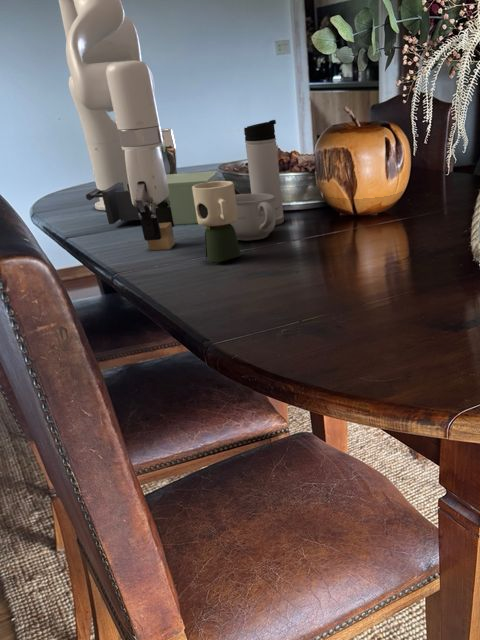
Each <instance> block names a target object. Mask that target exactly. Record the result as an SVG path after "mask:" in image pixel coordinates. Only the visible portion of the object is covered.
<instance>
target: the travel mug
mask: <svg viewBox="0 0 480 640" xmlns="http://www.w3.org/2000/svg"><path fill="white" fill-rule="evenodd" d="M275 125H277V120H276V119H271V120H269V121H266V122H261V123H257V124H256V123H255V124H252V125H251V124H250V125H248V126H246V127H243V132H244V134H243V135H244V136H245V137H244V143H245V150H246V160H247V166H248V167H247V168H248V176H249V184H250V194H252V193H258V194H272V195H274V196H275V226H278V225H282V224H283V223H284V221H285V217H284V209H283V208H284V207H283V198H282V197H283V195H282V187H281V177H280V166H279V157H278V147H277V146H278V145H277V138H276V134H275V133H276V130H275Z"/></svg>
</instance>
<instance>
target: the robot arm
mask: <svg viewBox="0 0 480 640" xmlns="http://www.w3.org/2000/svg"><path fill="white" fill-rule="evenodd" d="M58 3H59V9H60V14H61V19H62V25H63V29H64V34H65V39H66V43H65V56H66V57H65V58H66V63H67V66H68V71H69V74H70V76H69V78H68V89H69V93H70V95H71V99H72V102H73V103H74V106H75V109H76V111H77V114H78V118H79V121H80V124H81V127H82V128H81V129H82V132H83V136H84V139H85V144H86V148H87V153H88V156H89V161H90V165H91V169H92V173H93V177H94V181H95V185H96V189H99V190H106V189H108V188H110V187H112V186H113V185H115V184H117V183H122V182H123V186H124V190H125V191H128V187H127V184H129V189H130V195H131V200H132V204H133V205H134V206H135V207H138V209H137V210H138V212H139V218H140V220H139V221H140V225H141V230H142V234H143V240H144V241H146V242H147V241H148V240H160V239H161V232H160V227H159V223H169V222H171V224H172V228H174V226H175V225H174V222H173V217H172V212H171V207H168V206H170V201H169V199H168V195H169V190H168V183H167V177H166V172H165V168H164V163H163V159H162V154H161V151H160V147H159V146H162V145H163V140H162V134H161V129H162V128H161V124H160V119H159V114H158V108H157V103H156V97H155V93H156V87H155V86H156V85H155V79H154V75H153V73H152V71H151V69H150V68H149V65H148V64H147V63H146V62H145V61H143V60H142V54H141V53H142V51H141V45H140V38H139V34H138V31H137V28H136V26H135V24H134V22H133V20H132V19H130V18H129V17H128V16H127V15H125V9H124V6H123V3H122V1H121V0H58ZM111 112H113V113H114V118H115V119H114V118H113V117H112V116H111V115H110V114H109V113H111ZM101 194H102V193H101ZM149 207H151V211H150V209H149ZM156 207H158V208H156ZM94 208H95V209H96V210H97V211H106V210H105V205H104V201H103V197H99V200H98V201H97V202H95V204H94ZM155 215H156V217H155Z"/></svg>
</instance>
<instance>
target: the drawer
mask: <svg viewBox="0 0 480 640" xmlns="http://www.w3.org/2000/svg"><path fill="white" fill-rule="evenodd" d="M127 187H128V191H125V190H124V186H123V182H122V183H117V184H115V185H113V186H112V187H110V188H108V189H106V190H99V189H97V188H95V189H93V190H91V191H90V192H88V193H86V195H85V198H86V200H88V201H91V200H93V199H96V198H99V197H103V201H104V205H105V210H104V211H105V214H106V218H107V223H108V225H114V224H116V223H117V222H119V221H120V222H127V221H140V218H139V212H138V210H137V209H138V207H135V206H134V205H133V204H132V200H131V195H130V189H129V184H127ZM101 193H102V194H101Z"/></svg>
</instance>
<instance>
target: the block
mask: <svg viewBox="0 0 480 640" xmlns="http://www.w3.org/2000/svg"><path fill="white" fill-rule="evenodd" d="M159 227H160V232H161V239H160V240H148V241H146V242H147V246H148V251H161V250H171V249H172V247H174V245H176V241H175V240H176V239H175V235H174V230H173V227H172V224H171V222H169V223H159Z"/></svg>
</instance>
